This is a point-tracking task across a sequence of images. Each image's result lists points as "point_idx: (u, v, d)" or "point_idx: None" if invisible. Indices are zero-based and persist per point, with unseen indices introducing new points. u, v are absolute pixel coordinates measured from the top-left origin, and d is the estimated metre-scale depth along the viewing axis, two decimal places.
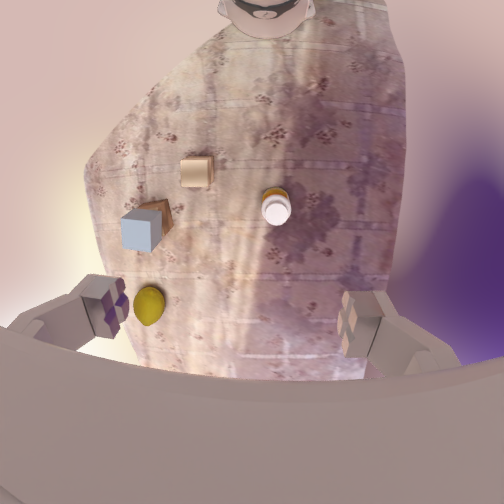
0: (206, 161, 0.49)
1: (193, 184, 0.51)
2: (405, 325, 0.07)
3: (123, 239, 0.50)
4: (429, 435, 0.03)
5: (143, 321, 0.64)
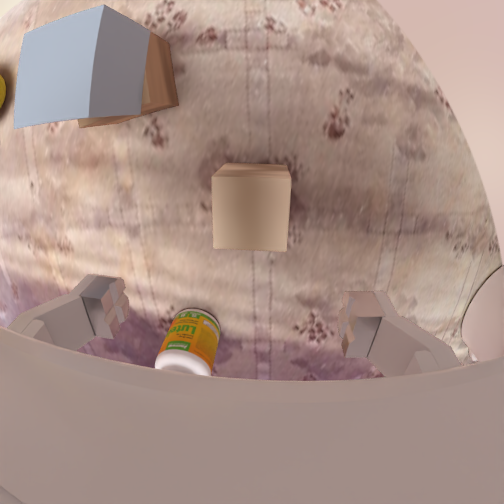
0: (282, 249, 0.20)
1: (218, 212, 0.19)
2: (405, 325, 0.07)
3: (43, 29, 0.08)
4: (429, 435, 0.03)
5: None
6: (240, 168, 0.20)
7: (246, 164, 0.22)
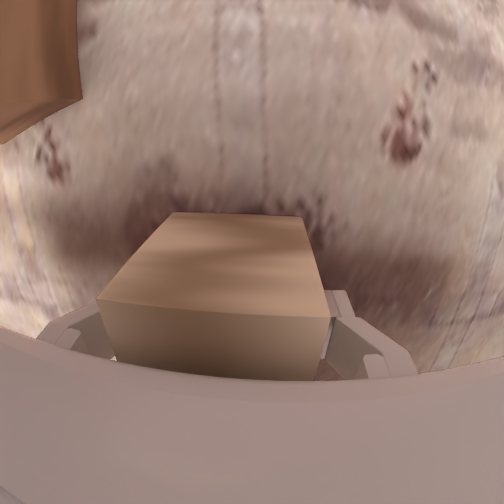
0: None
1: None
2: (360, 327, 0.07)
3: None
4: (429, 435, 0.03)
5: None
6: (192, 242, 0.08)
7: (213, 219, 0.10)
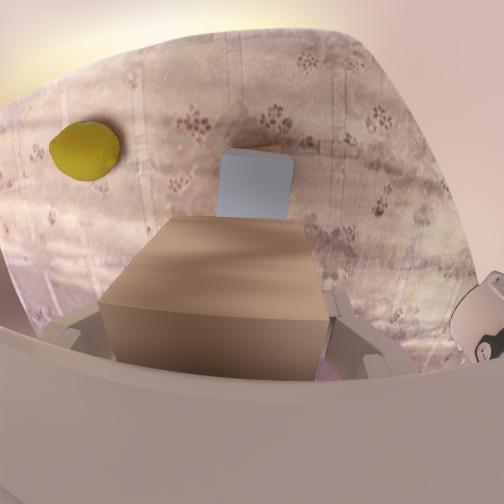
0: None
1: None
2: (360, 326, 0.07)
3: (243, 160, 0.23)
4: (429, 435, 0.03)
5: (56, 152, 0.27)
6: (192, 245, 0.09)
7: (213, 223, 0.10)
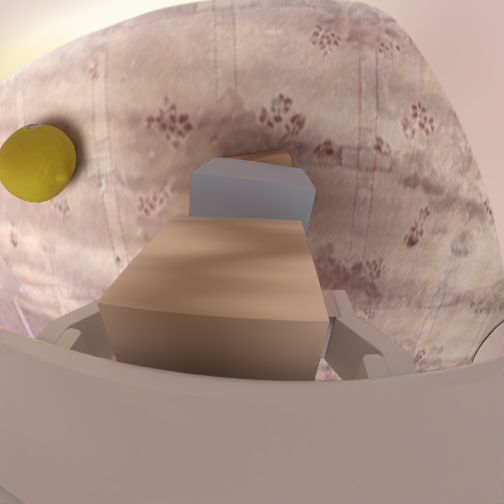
0: None
1: None
2: (360, 327, 0.07)
3: (228, 182, 0.13)
4: (429, 435, 0.03)
5: None
6: (192, 246, 0.09)
7: (213, 223, 0.10)
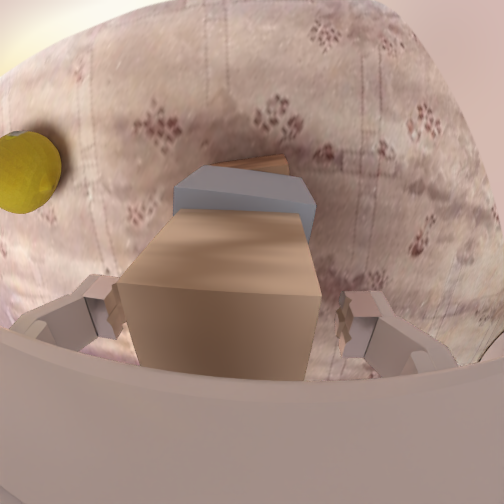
0: None
1: (148, 352, 0.08)
2: (402, 325, 0.07)
3: (216, 198, 0.12)
4: (429, 435, 0.03)
5: None
6: (200, 234, 0.09)
7: (218, 215, 0.11)
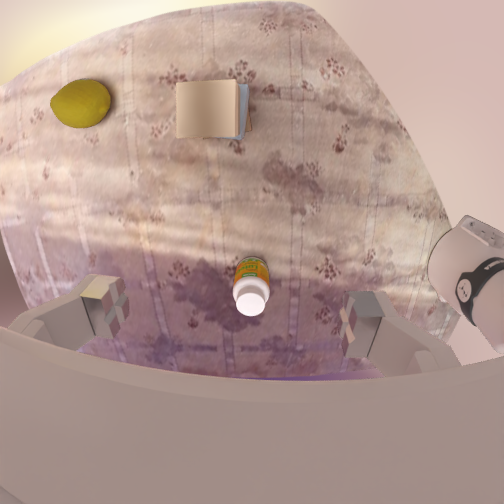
0: (231, 135, 0.22)
1: (181, 108, 0.21)
2: (405, 325, 0.07)
3: None
4: (429, 435, 0.03)
5: (57, 102, 0.29)
6: None
7: None
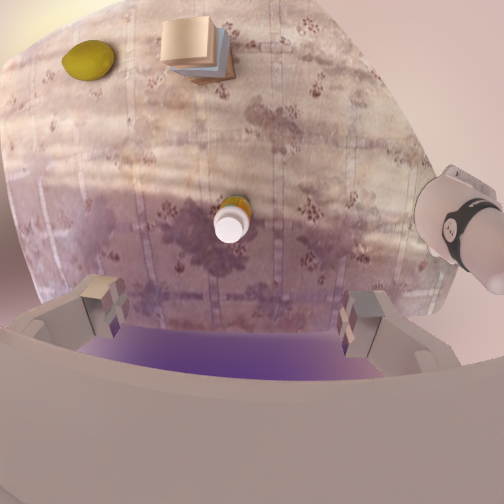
0: (204, 55, 0.24)
1: (165, 39, 0.23)
2: (405, 325, 0.07)
3: None
4: (429, 435, 0.03)
5: (67, 58, 0.31)
6: None
7: None
